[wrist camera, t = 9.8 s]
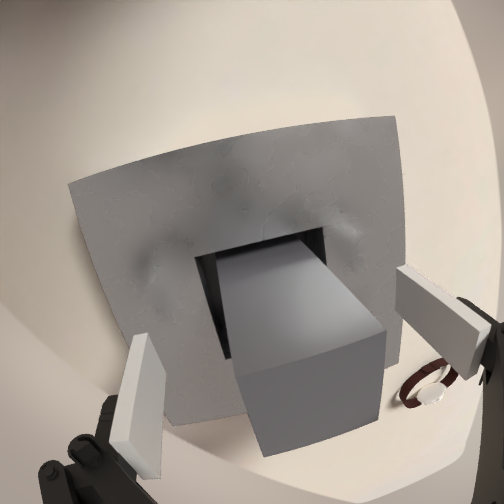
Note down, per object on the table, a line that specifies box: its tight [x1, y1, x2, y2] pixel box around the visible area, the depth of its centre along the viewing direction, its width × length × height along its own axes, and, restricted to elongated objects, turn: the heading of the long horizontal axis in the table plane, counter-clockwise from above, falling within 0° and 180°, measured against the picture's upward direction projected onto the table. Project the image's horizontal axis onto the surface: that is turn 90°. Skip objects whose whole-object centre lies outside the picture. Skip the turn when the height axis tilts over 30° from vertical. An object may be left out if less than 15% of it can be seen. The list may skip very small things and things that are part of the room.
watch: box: [399, 358, 458, 408], centre depth 28 cm, size 8×5×4 cm, turn 111°
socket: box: [68, 116, 405, 426], centre depth 19 cm, size 18×18×4 cm
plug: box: [215, 233, 387, 457], centre depth 15 cm, size 5×5×12 cm
